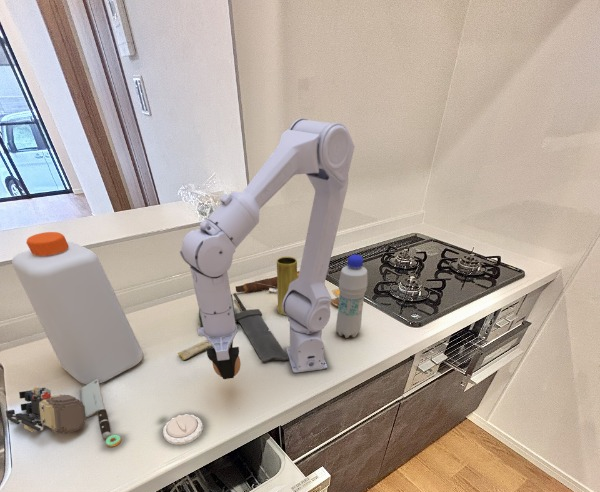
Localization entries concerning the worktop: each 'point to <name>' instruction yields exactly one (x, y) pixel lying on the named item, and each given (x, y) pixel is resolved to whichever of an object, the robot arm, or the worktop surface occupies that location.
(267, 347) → the flat dark sword
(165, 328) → the worktop surface
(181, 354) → the snack bar
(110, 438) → the donut
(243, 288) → the hand tool
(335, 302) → the shell
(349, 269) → the bottle
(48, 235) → the plastic bottle
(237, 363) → the egg
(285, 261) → the vase
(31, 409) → the toy
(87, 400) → the cleaver
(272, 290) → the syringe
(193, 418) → the white round disc
